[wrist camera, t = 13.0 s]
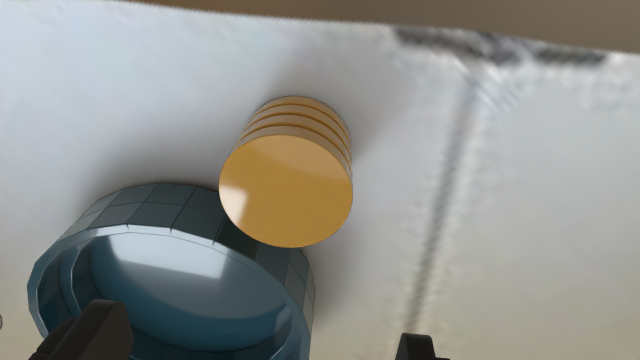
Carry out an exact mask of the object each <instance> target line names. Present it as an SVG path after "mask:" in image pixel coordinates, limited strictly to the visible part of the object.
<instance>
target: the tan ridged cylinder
mask: <svg viewBox="0 0 640 360" xmlns="http://www.w3.org/2000/svg"><path fill="white" fill-rule="evenodd" d="M219 195H220V199H221V203H222V205H223V208H224V210H225V212H226V213H227V215H228V216H229V218H230V219H231V220H232V222H233V223H234V224H235V225H236V226H237V227H238V228H239V229H240V230H242V231H243V232H244V233H246V234H247V235H249V236H250V237H252V238H254V239H256V240H258V241H260V242H263V243H266V244H269V245H273V246H278V247H287V248H295V247H304V246H309V245H313V244H316V243H318V242H321V241H323V240H325V239H326V238H328V237H330V236H331V235H332V234H334V233H335V232H336V231H337V230H338V229H339V228H340V227H341V226H342V225H343V223H344V222H345V220H346V219H347V217H348V215H349V212H350V210H351V206H352V200H353V184H352V147H351V139H350V135H349V132H348V130H347V128H346V126H345V124H344V122H343V121H342V120H341V118H340V117H339V116H338V115H337V114H336V113H335V112H334V111H333V110H332V109H330V108H329V107H328V106H326V105H324V104H323V103H321V102H318V101H316V100H313V99H310V98H306V97H299V96H290V97H282V98H278V99H275V100H273V101H270V102H268V103H266V104H265V105H263V106H262V107H260V108H259V109H258V110H257V111H256V112H255V113H254V114H253V115H252V117H251V118H250V120H249V121H248V123H247V125H246V127H245V128H244V130H243V132H242V133H241V135H240V137H239V139H238V140H237V142H236V144H235V146H234V147H233V149H232V151H231V153H230V154H229V156H228V158H227V159H226V161H225V163H224V165H223V167H222V170H221V173H220V177H219Z"/></svg>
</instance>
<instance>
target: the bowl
mask: <svg viewBox="0 0 640 360" xmlns="http://www.w3.org/2000/svg"><path fill="white" fill-rule="evenodd" d="M27 293H28V304H29V310H30V313H31V315H32V317H33V319H34V322H35V324H36V326H37V328H38V330H39V332H40V334H41V336H42V337H43V338H44V339H45V338H46V337H47V336H48V335H49V333H50V332H51V331H52V330H53V329H55V328H56V327H57V326H59V325H60V324H61V323H63V322H64V321H65V320H67V319H68V318H69V317H79V316H80V314H81V313H82V312H83V310H84V309H85V308H86V306H87V305H88V304H89V303H90V302H91V301H92V300H94V299H102V300H111V301H121V302H123V303H124V304H125V307H126V310H127V314H128V317H129V321H130V324H131V328H132V332H133V336H134V341H133V347H132V350H131V353H130V356H129V358H128V360H309V354H310V343H311V332H312V321H313V310H314V298H315V285H314V282H313V278H312V274H311V271H310V267H309V264H308V262H307V260H306V259H305V257H304V256H303V254H302V253H301V251H300V250H299V248H298V247H295V248H287V247H278V246H273V245H269V244H266V243H263V242H260V241H258V240H256V239H254V238H252V237H250V236H249V235H247V234H246V233H244V232H243V231H242V230H240V229H239V228H238V227H237V226H236V225H235V224H234V223H233V222H232V220H231V219H230V218H229V216H228V215H227V213H226V212H225V210H224V208H223V205H222V203H221V199H220V195H219V193H217V192H214V191H211V190H207V189H204V188H201V187H196V186H187V185H175V184H164V183H160V184H159V183H156V184H149V185H142V186H136V187H129V188H125V189H122V190H120V191H117V192H115V193H113V194H111V195H109V196H107V197H104V198H102V199H100V200H98V201H97V202H95V203H94V204H93V205H92V206H91V207H90V208H89V209H88V210H87V211H86V212H85V213H84V214H83V215H82V216H81V217H80V218H79V219H78V220H77V221H76V222H75V223H74V224H73V225H72V226H71V227H70V228H69V229H68V230H67V231H66V232H65V233H64V234H63V235H62V236H61V237H60V238H59V239H58V240H57V241H56V242H55V243H54V244H53V245H52V246H51V247H50V248H49V249H48V250H47V251H46V252H45V253H44V254H43V255H42V256H41V257H40V258H39V259H38V260H37V261H36V262H35V265H34V267H33V270H32V273H31V276H30V278H29V281H28V284H27Z"/></svg>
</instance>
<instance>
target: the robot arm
mask: <svg viewBox="0 0 640 360" xmlns="http://www.w3.org/2000/svg"><path fill="white" fill-rule="evenodd" d="M133 341H134V336H133V332H132V328H131V324H130V321H129V317H128V314H127V310H126V307H125V304H124V303H123V302H121V301H111V300H102V299H94V300H92V301H91V302H90V303H89V304H88V305H87V306H86V308H85V309H84V310H83V312H82V313H81V314H80V316H79V317H69V318H68V319H67V320H65V321H64V322H63V323H61V324H60V325H59V326H57V327H56V328H55V329H53V330H52V331H51V332H50V333H49V335H48V336H47V337H46V338H45V340H44V341H43V342H42V343H41V344H40V346H39V347H38V348H37V351H36V353H33V354H32V356H31V357H30V358H29V359H28V360H128V358H129V356H130V353H131V350H132V347H133ZM395 360H450V359H447V358H438V357H435V352H434V347H433V342H432V339H431V337H430V336H429V335H420V334H410V333H403V334H402V336H401V339H400V343H399V347H398V351H397V354H396V358H395Z"/></svg>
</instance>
